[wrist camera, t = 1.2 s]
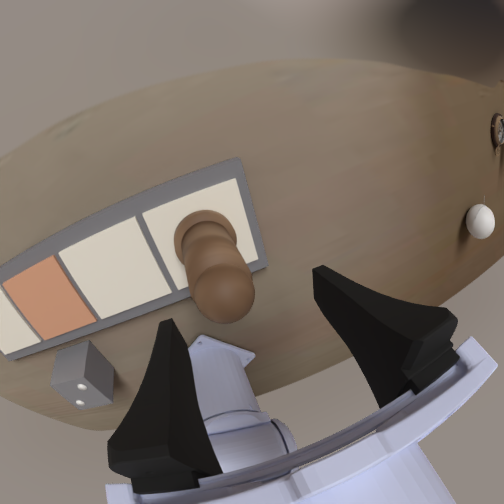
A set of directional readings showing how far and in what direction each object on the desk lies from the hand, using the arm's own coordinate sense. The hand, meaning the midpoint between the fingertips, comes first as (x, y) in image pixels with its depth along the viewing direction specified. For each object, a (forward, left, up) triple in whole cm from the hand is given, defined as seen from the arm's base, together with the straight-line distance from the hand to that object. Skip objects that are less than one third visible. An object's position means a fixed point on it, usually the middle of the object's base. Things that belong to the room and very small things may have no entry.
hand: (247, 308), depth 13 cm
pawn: (-1, 0, -10) cm, 10 cm away
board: (-11, +7, -11) cm, 17 cm away
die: (-21, +3, -11) cm, 24 cm away
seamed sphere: (+26, -32, -11) cm, 43 cm away
